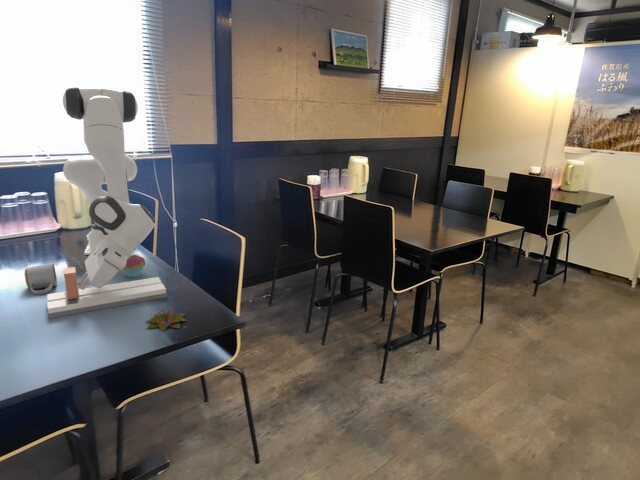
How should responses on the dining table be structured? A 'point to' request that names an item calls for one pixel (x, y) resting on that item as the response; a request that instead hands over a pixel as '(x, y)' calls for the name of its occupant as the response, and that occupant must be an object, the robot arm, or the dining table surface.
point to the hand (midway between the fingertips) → (80, 287)
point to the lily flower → (165, 317)
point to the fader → (71, 283)
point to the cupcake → (134, 266)
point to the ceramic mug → (41, 277)
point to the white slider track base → (105, 297)
